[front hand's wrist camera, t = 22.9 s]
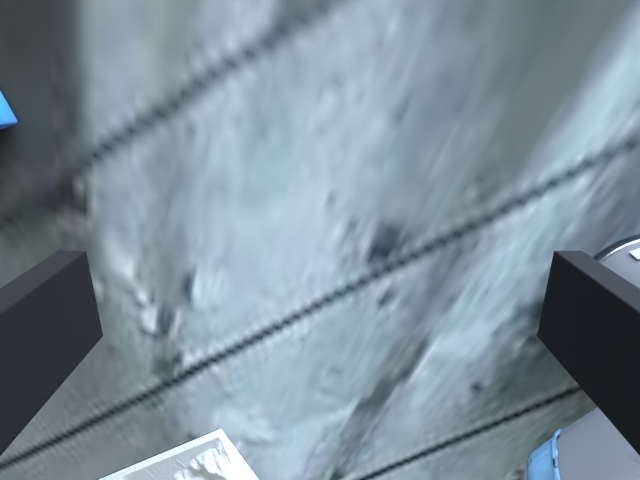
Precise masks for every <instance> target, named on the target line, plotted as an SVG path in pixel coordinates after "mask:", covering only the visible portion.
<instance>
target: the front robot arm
mask: <svg viewBox="0 0 640 480" xmlns="http://www.w3.org/2000/svg"><path fill="white" fill-rule="evenodd" d="M102 336H103V334H102V329H101V324H100V319H99V314H98V309H97V304H96V299H95V294H94V289H93V284H92V279H91V274H90V269H89V264H88V259H87V254H86V251H58V252H56V253H55V254H53V255H51V256H50V257H48V258H47V259H45V260H44V261H42V262H41V263H39V264H38V265H36V266H34V267H33V268H31V269H30V270H28V271H27V272H25V273H24V274H22V275H21V276H19V277H17V278H16V279H14V280H13V281H11V282H10V283H8V284H7V285H5V286H4V287H2V288H0V456H1V454H2V453H3V452H4V451H5V450H6V449H7V447H8V446H9V445H10V444H11V443H12V442H13V440H14V439H15V438H16V437H17V436H18V435H19V433H20V432H21V431H22V430H23V429H24V428H25V426H26V425H27V424H28V423H29V422H30V420H31V419H32V418H33V417H34V416H35V415H36V413H37V412H38V411H39V410H40V409H41V408H42V406H43V405H44V404H45V403H46V402H47V401H48V399H49V398H50V397H51V396H52V395H53V394H54V392H55V391H56V390H57V389H58V388H59V387H60V385H61V384H62V383H63V382H64V381H65V380H66V378H67V377H68V376H69V375H70V374H71V373H72V371H73V370H74V369H75V368H76V367H77V365H78V364H79V363H80V362H81V361H82V360H83V358H84V357H85V356H86V355H87V354H88V353H89V351H90V350H91V349H92V348H93V347H94V346H95V344H96V343H97V342H98V341H99V340H100V339H101V337H102ZM537 336H538V337H539V339H540V340H541V341H542V342H543V343H544V344H545V346H546V347H547V348H548V349H549V350H550V351H551V353H552V354H553V355H554V356H555V357H556V358H557V360H558V361H559V362H560V363H561V364H562V365H563V367H564V368H565V369H566V370H567V371H568V373H569V374H570V375H571V376H572V377H573V378H574V380H575V381H576V382H577V383H578V384H579V385H580V387H581V388H582V389H583V390H584V391H585V392H586V394H587V395H588V396H589V397H590V398H591V399H592V401H593V402H594V403H595V404H596V405H597V406H598V407H597V408H595V409H594V410H592V411H591V412H589V413H588V414H586V415H584V416H583V417H581V418H580V419H578V420H577V421H575V422H573V423H572V424H570V425H569V426H567V427H566V428H564V429H559V430H557V431H556V432H555V433H554V435H553V437H552V438H551V439H549V440H548V441H547V442H545V443H544V444H543V445H541V446H540V447H539V448H537V449H536V450H535V451H533V452H532V454H531V455H530V457H529V459H528V462H527V480H640V235H637V236H633V237H630V238H626V239H624V240H622V241H619V242H617V243H615V244H613V245H611V246H610V247H608V248H606V249H605V250H604V251H602V252H601V253H599V254H598V255H597V256H596V257H595V258H594V259H593V258H592V257H590V256H589V255H587V254H585V253H584V252H582V251H554V254H553V259H552V264H551V269H550V274H549V279H548V284H547V289H546V294H545V299H544V304H543V309H542V314H541V319H540V324H539V329H538V334H537Z"/></svg>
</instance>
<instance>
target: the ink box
mask: <svg viewBox="0 0 640 480" xmlns="http://www.w3.org/2000/svg"><path fill="white" fill-rule="evenodd" d="M14 124H17V120H16V118H15V116H14V114H13V112H12V111H11V109H10V107H9V105H8V104H7V102H6V100H5V98H4V97H3V95H2V93H1V91H0V130H1V129H4V128H7V127H9V126H12V125H14Z"/></svg>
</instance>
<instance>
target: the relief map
mask: <svg viewBox="0 0 640 480" xmlns="http://www.w3.org/2000/svg"><path fill="white" fill-rule="evenodd" d="M99 480H259V479H258V478H257V476H256V475H255V474H254V472H253V471H252V470H251V468H250V467H249V466H248V464H247V463H246V462H245V460H244V459H243V458H242V456H241V455H240V454H239V452H238V451H237V450H236V448H235V447H234V445H233V444H232V443H231V441H230V440H229V439H228V437H227V436H226V435H225V433H224V432H223V431H222V429H219V430H217V431H214V432H212V433H209V434H207V435H204V436H202V437H200V438H197V439H195V440H192V441H190V442H188V443H185V444H183V445H180V446H178V447H176V448H173V449H171V450H168V451H166V452H164V453H161V454H159V455H156V456H154V457H152V458H149V459H147V460H144V461H142V462H140V463H137V464H135V465H132V466H130V467H127V468H125V469H123V470H120V471H118V472H115V473H113V474H111V475H108V476H106V477H103V478H101V479H99Z"/></svg>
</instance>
